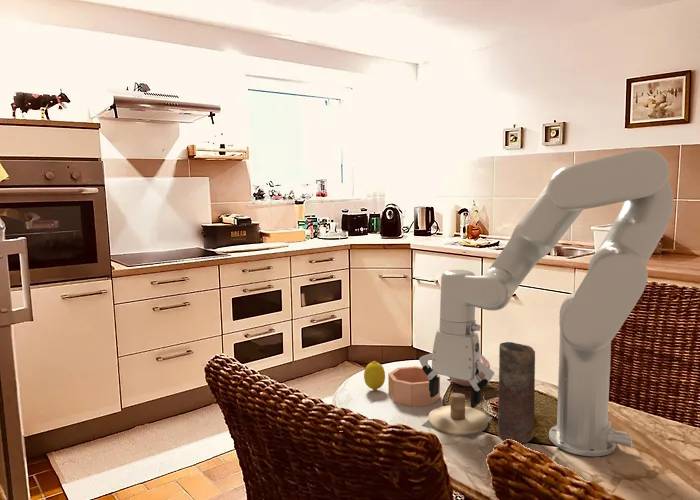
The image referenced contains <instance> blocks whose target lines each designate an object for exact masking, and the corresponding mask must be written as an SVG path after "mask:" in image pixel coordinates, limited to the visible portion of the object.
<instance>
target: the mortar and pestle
mask: <svg viewBox="0 0 700 500" xmlns="http://www.w3.org/2000/svg"><path fill="white" fill-rule="evenodd" d="M480 356H481V363H483V364H484V365H485V366H487V367H488V368H489V369H491V363H490V362H489V360H488V359H487V358H485V356H484V355H483V354H481V353H480ZM478 376H479V378H480V379H481V381H482V380H483V379H484V377H485V374H484V373H482V372H481V371H480V374H479V375H478ZM447 378H449V379H450V380H451V381H452V382H454V383H455V384H457V385H460V386H462V387H472V385H471V384H470V382H469V381H467V380H462V379H457V378H453V377H449V376H447Z"/></svg>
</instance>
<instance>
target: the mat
mask: <svg viewBox="0 0 700 500" xmlns="http://www.w3.org/2000/svg"><path fill="white" fill-rule="evenodd" d="M486 416H487V418H488V424H489V423H490V422H491V421H492V419H494V418H493V416H489V415H486ZM421 427H425V428H428V429H433V430H437V429H435V428H434V427H432V426H431V425H430V423H429V419H427V420H426V421H425V422H424V423H423V424H422V425H421ZM437 431H438V430H437ZM480 433H481V432H479V433H475V434H470V435H458V436H460V437H464V438H467V439H472V440H475V438H476V437H477V436H478V435H479V434H480Z"/></svg>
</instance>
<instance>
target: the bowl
mask: <svg viewBox="0 0 700 500" xmlns="http://www.w3.org/2000/svg"><path fill="white" fill-rule="evenodd" d="M422 368H423V367H422V366H418V365H417V366H416V365H413V366H412V365H411V366H405V367H397V368H395V369H394V370H392V371H391V372H388V377H387V379H388V396H389V397H390V399H391V400H392V402H393V403H395V404H398V405H403V406H408V407H413V408H414V407H422V406H430V405H433V404H434V403H436V401H438V400H439V399H440V398H441V376H440V374H438V375H437V377H438V378H439V393H438V394H437V395H436V396H434V397H430V391H429V379H428V378H427V375H426V374H425V372H424V371H423V369H422Z"/></svg>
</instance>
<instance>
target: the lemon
mask: <svg viewBox="0 0 700 500" xmlns="http://www.w3.org/2000/svg"><path fill="white" fill-rule="evenodd" d="M363 378H364V383H365V385H366V386H367V387H368V388H370V389H372V391H374V392H375V391H377V390H378V389H380V388H381V387H382V386H384V384H385V381H386V380H385V379H386V372H385V369H384V366H383V365H382V364H381V363H379V362H377V361H376V360H373V361H372V362H370V363H368V364H367V365H366V367H365V369H364V371H363Z"/></svg>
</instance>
